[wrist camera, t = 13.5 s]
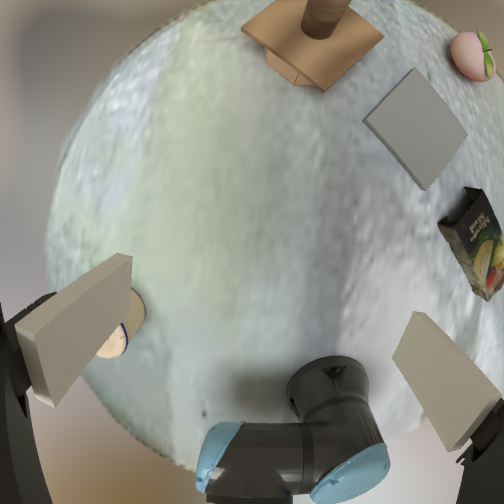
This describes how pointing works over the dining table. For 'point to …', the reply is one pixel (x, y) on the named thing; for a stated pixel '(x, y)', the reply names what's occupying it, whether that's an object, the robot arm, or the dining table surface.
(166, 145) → the dining table surface
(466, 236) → the juice carton
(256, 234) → the dining table surface
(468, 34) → the decorative fruit
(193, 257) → the dining table surface
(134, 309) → the teacup with lid
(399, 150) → the mat
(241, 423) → the robot arm
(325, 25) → the lid
